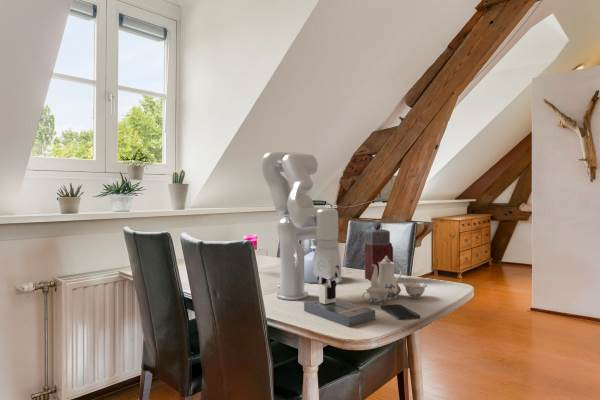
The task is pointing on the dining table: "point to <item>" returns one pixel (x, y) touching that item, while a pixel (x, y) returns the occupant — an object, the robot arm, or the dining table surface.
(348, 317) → the fader console
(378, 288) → the chinaware
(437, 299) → the dining table surface
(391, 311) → the phone
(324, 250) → the robot arm
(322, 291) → the fader tab
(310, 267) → the bottle
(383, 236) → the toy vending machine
